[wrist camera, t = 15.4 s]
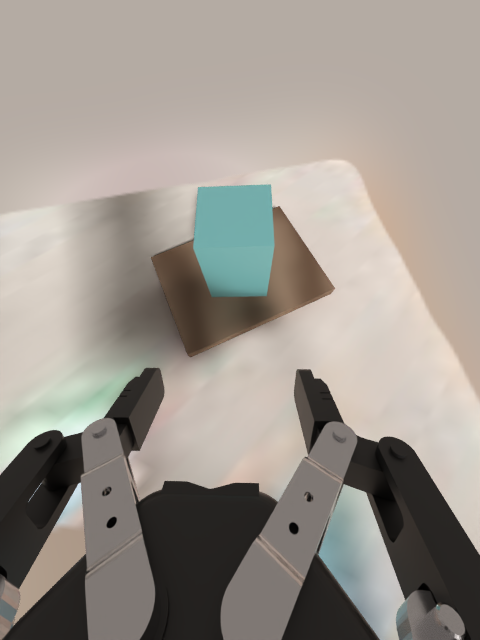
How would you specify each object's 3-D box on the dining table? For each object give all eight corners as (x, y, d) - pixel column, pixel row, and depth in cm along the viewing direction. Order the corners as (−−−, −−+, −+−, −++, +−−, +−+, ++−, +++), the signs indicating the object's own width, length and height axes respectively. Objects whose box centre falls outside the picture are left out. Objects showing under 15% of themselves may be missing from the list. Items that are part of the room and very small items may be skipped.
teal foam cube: (211, 297, 23) (193, 248, 16) (213, 251, 25) (198, 187, 18) (266, 296, 23) (274, 245, 15) (264, 249, 25) (270, 184, 17)
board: (190, 357, 23) (187, 354, 21) (155, 263, 26) (150, 257, 25) (331, 293, 24) (335, 288, 23) (278, 214, 28) (279, 206, 27)
